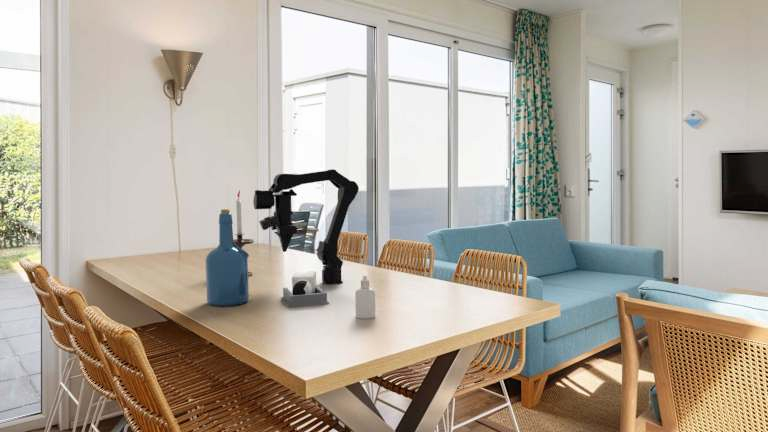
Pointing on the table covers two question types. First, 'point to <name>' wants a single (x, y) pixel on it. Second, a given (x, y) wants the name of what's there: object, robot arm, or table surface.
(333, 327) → the table surface
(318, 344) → the table surface
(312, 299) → the u rest
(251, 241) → the candlestick
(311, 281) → the medicine bottle
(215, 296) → the wine bottle
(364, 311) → the eye dropper bottle
